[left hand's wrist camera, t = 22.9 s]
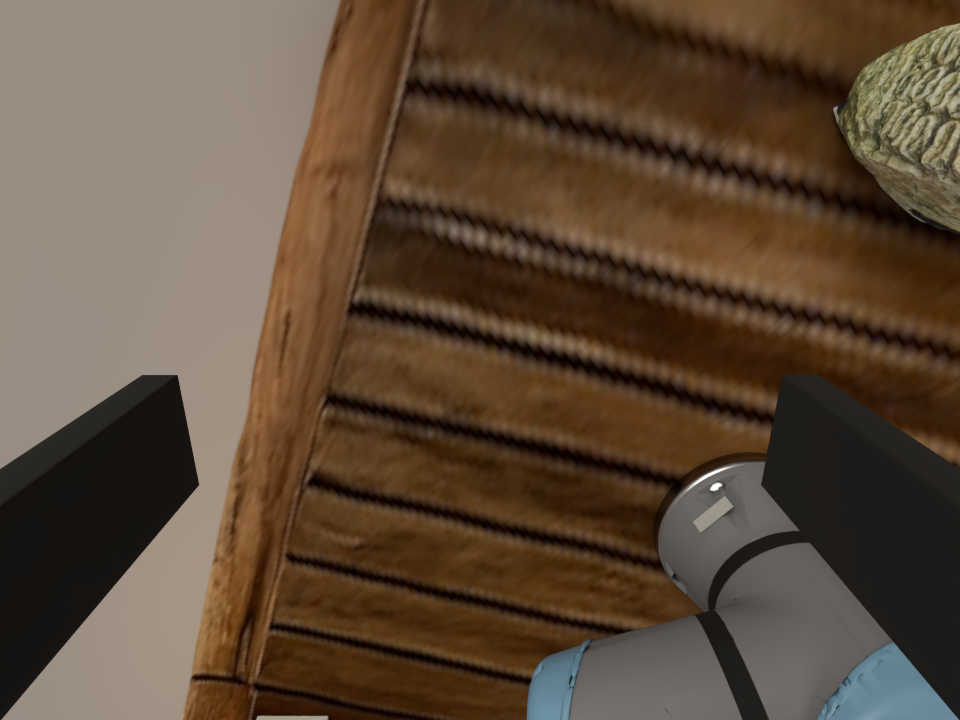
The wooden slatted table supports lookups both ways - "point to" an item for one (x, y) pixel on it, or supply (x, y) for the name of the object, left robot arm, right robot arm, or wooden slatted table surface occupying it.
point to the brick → (292, 718)
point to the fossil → (911, 125)
